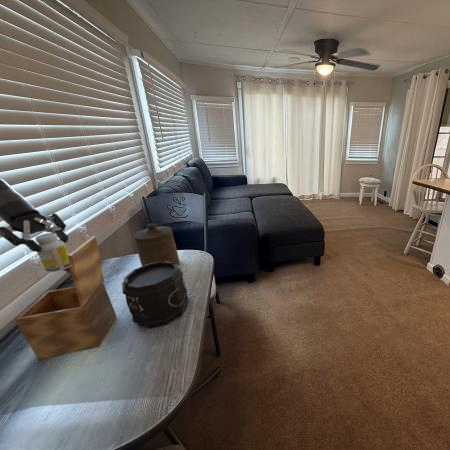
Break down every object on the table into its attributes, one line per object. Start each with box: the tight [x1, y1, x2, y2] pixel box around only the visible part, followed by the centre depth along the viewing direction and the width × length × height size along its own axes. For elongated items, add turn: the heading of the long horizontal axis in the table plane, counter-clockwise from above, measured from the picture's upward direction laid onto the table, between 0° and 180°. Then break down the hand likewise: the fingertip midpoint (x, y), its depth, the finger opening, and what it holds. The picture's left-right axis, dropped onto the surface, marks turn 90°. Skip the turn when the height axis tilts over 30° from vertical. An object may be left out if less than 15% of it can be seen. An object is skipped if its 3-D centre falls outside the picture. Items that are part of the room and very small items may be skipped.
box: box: [14, 282, 118, 361], centre depth 71 cm, size 15×13×14 cm
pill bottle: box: [35, 232, 70, 273], centre depth 77 cm, size 6×6×12 cm
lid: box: [68, 235, 105, 307], centre depth 68 cm, size 16×13×1 cm
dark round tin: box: [121, 261, 190, 329], centre depth 81 cm, size 18×18×16 cm
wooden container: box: [133, 222, 181, 266], centre depth 107 cm, size 15×15×22 cm
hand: (53, 245), depth 75 cm, fingers closed on pill bottle, 6 cm apart
